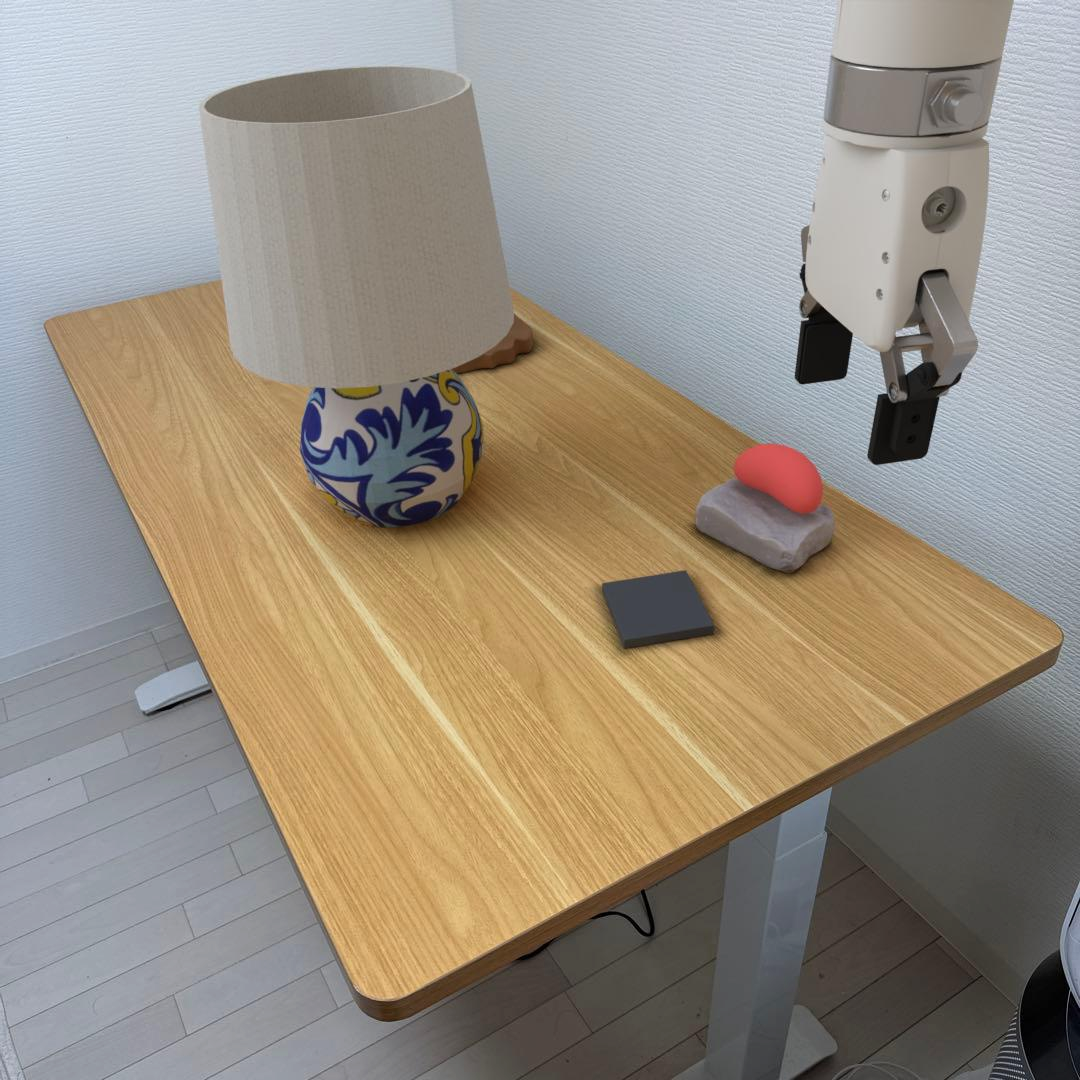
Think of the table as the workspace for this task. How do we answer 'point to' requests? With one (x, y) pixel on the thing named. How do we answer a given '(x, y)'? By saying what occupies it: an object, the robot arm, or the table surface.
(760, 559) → the stone block
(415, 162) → the table lamp
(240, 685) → the table surface
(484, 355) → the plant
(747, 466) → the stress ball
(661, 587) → the felt pad
